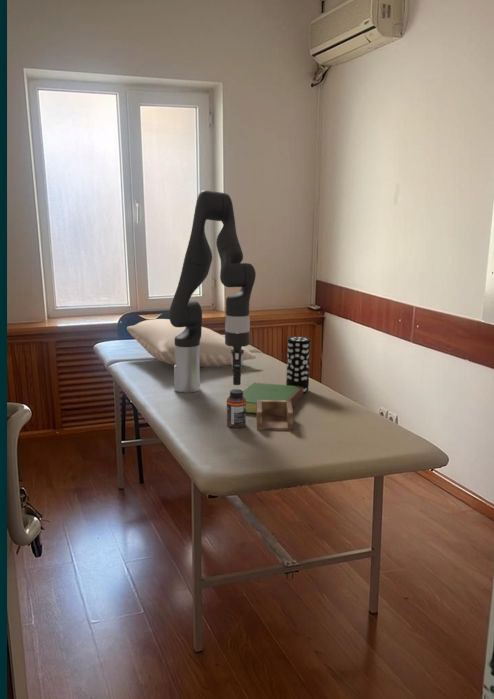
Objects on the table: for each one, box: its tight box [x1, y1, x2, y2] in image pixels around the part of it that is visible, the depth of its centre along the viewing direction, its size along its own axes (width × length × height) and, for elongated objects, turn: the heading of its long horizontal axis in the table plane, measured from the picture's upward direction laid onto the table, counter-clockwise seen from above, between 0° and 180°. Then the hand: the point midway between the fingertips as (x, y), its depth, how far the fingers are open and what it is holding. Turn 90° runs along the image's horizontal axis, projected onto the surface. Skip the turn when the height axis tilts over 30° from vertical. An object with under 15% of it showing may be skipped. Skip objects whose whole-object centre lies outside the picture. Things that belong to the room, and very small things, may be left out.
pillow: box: [126, 318, 257, 368], centre depth 265 cm, size 44×18×44 cm
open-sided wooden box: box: [256, 400, 294, 431], centre depth 194 cm, size 11×12×6 cm
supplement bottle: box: [226, 388, 247, 429], centre depth 192 cm, size 6×6×11 cm
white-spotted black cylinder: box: [285, 336, 311, 395], centre depth 227 cm, size 8×8×20 cm
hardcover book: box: [242, 382, 304, 415], centre depth 214 cm, size 25×19×4 cm
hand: (237, 380), depth 190 cm, fingers open, 8 cm apart
